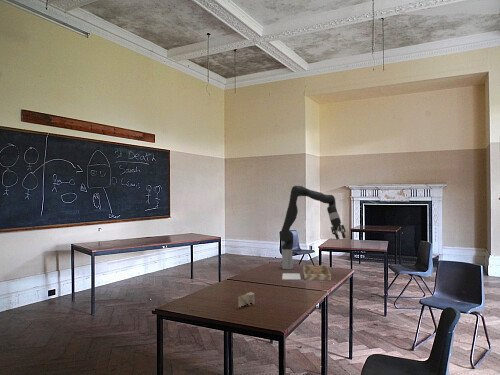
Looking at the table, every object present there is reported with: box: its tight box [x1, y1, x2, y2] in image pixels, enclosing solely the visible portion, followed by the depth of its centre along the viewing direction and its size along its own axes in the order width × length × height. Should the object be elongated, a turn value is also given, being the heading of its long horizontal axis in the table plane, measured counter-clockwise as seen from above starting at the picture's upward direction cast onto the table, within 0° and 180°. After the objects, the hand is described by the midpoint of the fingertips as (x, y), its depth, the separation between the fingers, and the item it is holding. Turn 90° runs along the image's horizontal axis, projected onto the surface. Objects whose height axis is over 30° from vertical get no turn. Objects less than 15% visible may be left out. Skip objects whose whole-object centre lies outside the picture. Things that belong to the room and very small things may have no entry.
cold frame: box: [302, 265, 332, 281], centre depth 288 cm, size 20×20×7 cm
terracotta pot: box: [312, 265, 321, 274], centre depth 288 cm, size 6×6×8 cm
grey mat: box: [281, 272, 301, 281], centre depth 290 cm, size 14×20×1 cm
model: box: [238, 291, 255, 308], centre depth 215 cm, size 3×11×8 cm, turn 141°
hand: (341, 238), depth 283 cm, fingers open, 8 cm apart
